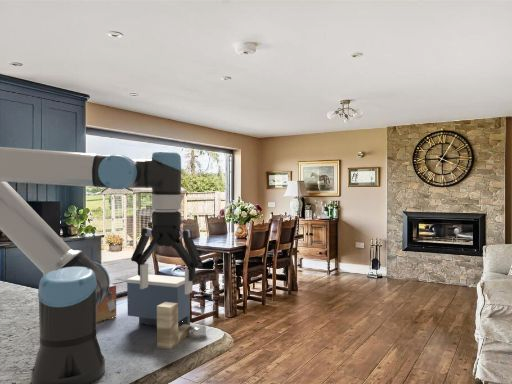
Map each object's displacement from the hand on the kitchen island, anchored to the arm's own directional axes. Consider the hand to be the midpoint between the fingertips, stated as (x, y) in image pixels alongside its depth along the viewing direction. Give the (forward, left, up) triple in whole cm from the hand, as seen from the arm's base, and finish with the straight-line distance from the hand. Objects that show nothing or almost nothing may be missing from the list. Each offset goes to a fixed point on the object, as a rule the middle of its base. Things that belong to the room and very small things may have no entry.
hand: (165, 290), depth 109 cm
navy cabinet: (+11, +9, -15) cm, 20 cm away
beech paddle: (+5, 0, -15) cm, 16 cm away
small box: (+12, +32, -15) cm, 37 cm away
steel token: (+9, -4, -15) cm, 18 cm away
